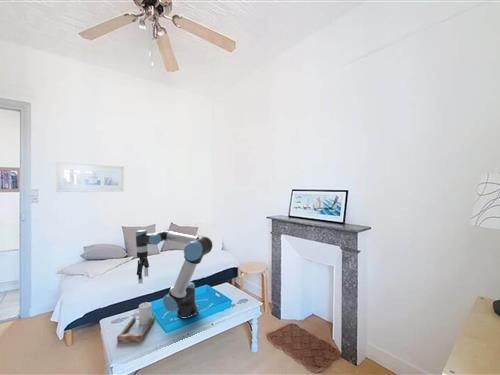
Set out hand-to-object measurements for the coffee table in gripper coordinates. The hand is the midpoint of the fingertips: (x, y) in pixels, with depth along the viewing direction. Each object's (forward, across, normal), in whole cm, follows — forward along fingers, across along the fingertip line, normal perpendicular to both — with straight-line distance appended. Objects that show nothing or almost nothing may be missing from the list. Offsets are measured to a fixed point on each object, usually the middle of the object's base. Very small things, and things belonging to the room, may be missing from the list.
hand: (143, 279), depth 189 cm
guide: (+27, +19, +1) cm, 33 cm away
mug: (+27, +10, +1) cm, 29 cm away
